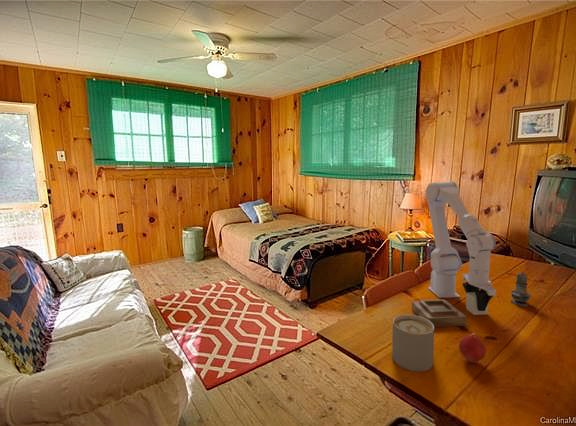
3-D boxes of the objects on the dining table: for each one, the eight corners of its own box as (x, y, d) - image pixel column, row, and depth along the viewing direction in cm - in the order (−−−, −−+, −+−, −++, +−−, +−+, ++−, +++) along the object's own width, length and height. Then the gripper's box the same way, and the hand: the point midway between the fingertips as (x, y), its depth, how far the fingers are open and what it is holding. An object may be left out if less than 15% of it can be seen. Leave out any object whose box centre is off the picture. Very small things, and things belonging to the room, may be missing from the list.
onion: (453, 355, 79) (454, 327, 78) (473, 353, 79) (475, 326, 78) (468, 370, 73) (470, 340, 72) (490, 368, 74) (492, 338, 72)
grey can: (418, 377, 71) (419, 338, 70) (384, 356, 79) (384, 321, 78) (447, 356, 79) (449, 321, 77) (413, 339, 87) (414, 307, 85)
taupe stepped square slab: (411, 309, 105) (412, 298, 104) (445, 308, 105) (446, 297, 104) (428, 327, 93) (428, 314, 92) (466, 325, 93) (466, 313, 92)
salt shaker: (534, 307, 104) (537, 274, 102) (514, 306, 105) (517, 273, 103) (524, 299, 109) (527, 268, 108) (506, 299, 110) (508, 268, 109)
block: (465, 308, 104) (466, 292, 103) (478, 308, 104) (479, 291, 103) (474, 314, 100) (474, 297, 99) (487, 314, 100) (488, 297, 99)
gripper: (506, 276, 93) (503, 316, 95) (477, 261, 107) (474, 297, 109) (484, 277, 93) (481, 317, 95) (457, 262, 107) (455, 298, 109)
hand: (476, 306), depth 102 cm, fingers closed on block, 4 cm apart
